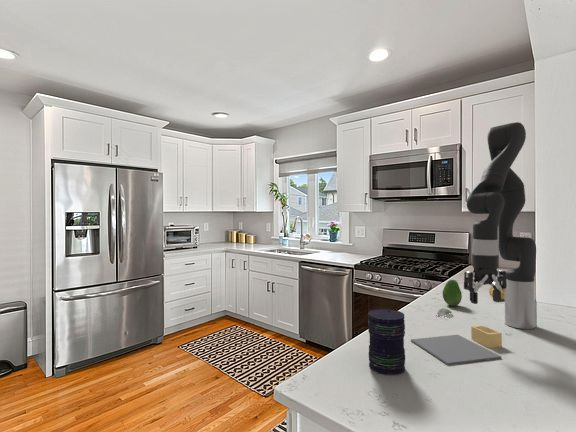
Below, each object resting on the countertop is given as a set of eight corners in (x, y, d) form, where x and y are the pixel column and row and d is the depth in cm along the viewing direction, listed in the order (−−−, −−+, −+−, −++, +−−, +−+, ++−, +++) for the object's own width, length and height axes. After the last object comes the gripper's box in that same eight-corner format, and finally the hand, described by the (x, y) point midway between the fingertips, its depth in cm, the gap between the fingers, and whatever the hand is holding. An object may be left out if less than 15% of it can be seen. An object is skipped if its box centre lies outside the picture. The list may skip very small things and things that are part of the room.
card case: (483, 338, 113) (483, 325, 112) (501, 347, 105) (501, 333, 105) (471, 339, 112) (471, 326, 112) (488, 348, 104) (488, 334, 104)
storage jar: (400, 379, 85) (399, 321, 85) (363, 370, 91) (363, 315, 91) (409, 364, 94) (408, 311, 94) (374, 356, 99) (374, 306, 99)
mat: (457, 336, 114) (457, 334, 114) (501, 358, 97) (501, 356, 97) (410, 341, 110) (410, 339, 110) (447, 365, 93) (447, 363, 93)
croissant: (502, 309, 157) (512, 295, 154) (481, 296, 163) (490, 283, 160) (511, 299, 172) (520, 287, 169) (491, 288, 178) (499, 276, 175)
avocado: (462, 304, 153) (462, 278, 153) (461, 309, 146) (460, 282, 146) (443, 302, 157) (443, 277, 157) (441, 306, 150) (441, 280, 150)
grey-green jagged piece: (440, 328, 126) (440, 326, 126) (421, 323, 131) (421, 321, 131) (459, 314, 140) (459, 311, 140) (440, 309, 145) (440, 307, 145)
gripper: (494, 251, 113) (494, 298, 113) (458, 252, 110) (458, 300, 110) (513, 253, 106) (513, 304, 106) (475, 255, 103) (475, 307, 103)
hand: (485, 302), depth 108 cm, fingers open, 8 cm apart
